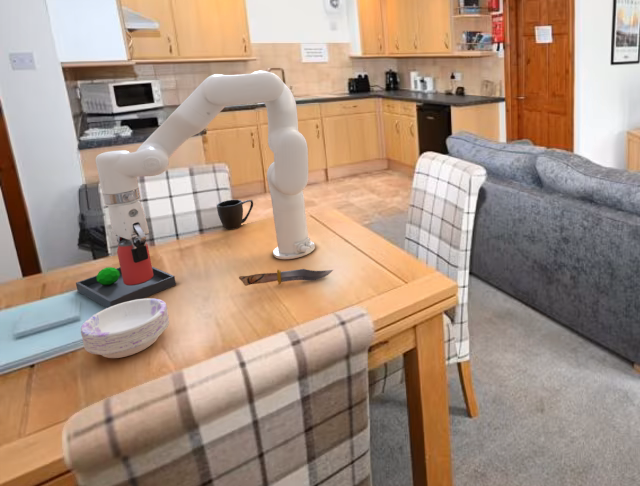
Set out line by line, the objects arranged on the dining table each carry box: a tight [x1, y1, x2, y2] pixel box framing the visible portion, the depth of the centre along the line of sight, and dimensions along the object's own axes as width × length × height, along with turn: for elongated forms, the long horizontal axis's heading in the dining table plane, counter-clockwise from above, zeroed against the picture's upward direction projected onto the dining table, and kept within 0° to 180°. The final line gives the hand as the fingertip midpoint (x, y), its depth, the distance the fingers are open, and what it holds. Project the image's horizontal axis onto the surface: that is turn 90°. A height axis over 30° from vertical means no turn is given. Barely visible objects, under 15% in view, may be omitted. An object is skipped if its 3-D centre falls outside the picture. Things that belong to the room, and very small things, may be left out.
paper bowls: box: [80, 297, 170, 359], centre depth 106 cm, size 15×15×8 cm
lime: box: [96, 266, 120, 285], centre depth 133 cm, size 5×5×5 cm
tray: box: [75, 266, 177, 309], centre depth 132 cm, size 21×15×3 cm
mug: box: [216, 199, 254, 230], centre depth 176 cm, size 8×12×10 cm
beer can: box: [116, 239, 153, 286], centre depth 128 cm, size 7×7×12 cm
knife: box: [238, 268, 334, 287], centre depth 132 cm, size 25×1×5 cm, turn 108°
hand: (134, 257), depth 128 cm, fingers closed on beer can, 6 cm apart
